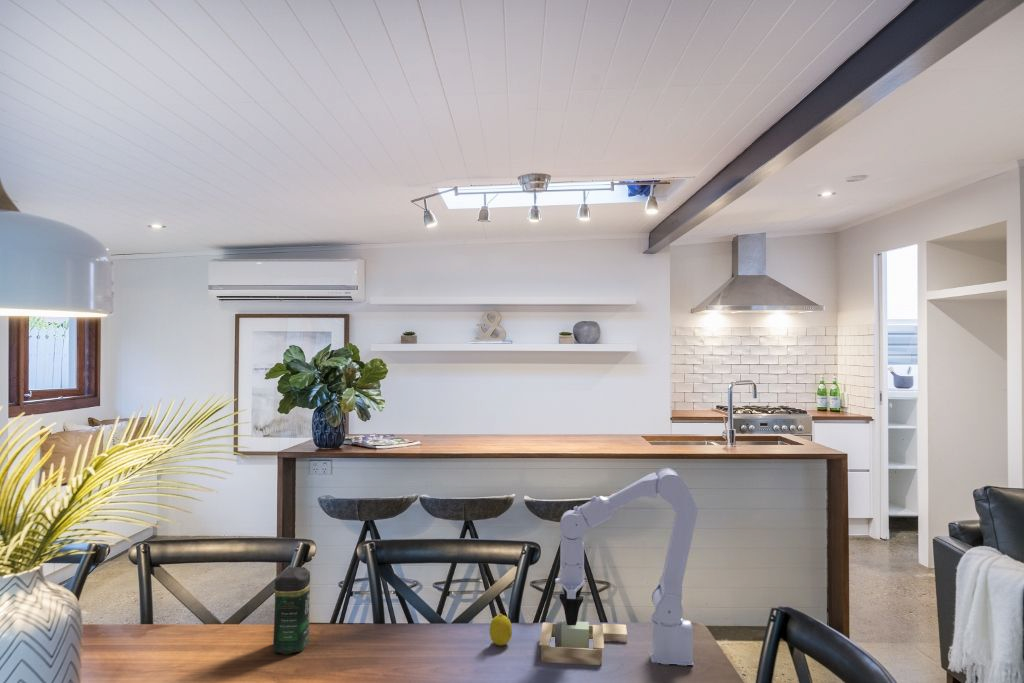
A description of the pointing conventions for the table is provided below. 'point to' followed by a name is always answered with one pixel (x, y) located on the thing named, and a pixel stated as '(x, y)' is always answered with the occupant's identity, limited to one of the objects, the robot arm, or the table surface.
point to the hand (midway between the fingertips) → (571, 618)
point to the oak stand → (614, 632)
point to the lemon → (500, 630)
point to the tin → (572, 634)
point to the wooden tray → (569, 653)
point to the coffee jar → (291, 610)
